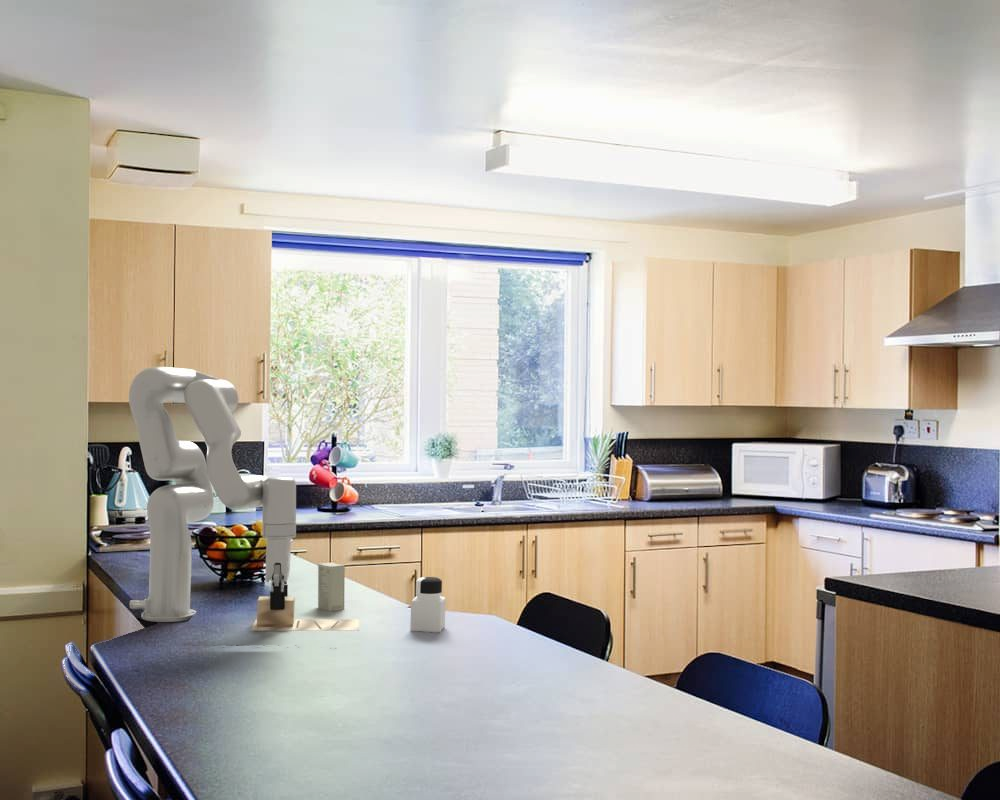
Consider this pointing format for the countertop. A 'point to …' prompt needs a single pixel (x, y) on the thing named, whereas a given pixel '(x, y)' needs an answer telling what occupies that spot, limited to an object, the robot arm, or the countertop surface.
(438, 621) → the medicine bottle
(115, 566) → the countertop surface
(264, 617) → the block
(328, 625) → the board
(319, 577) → the skincare box
